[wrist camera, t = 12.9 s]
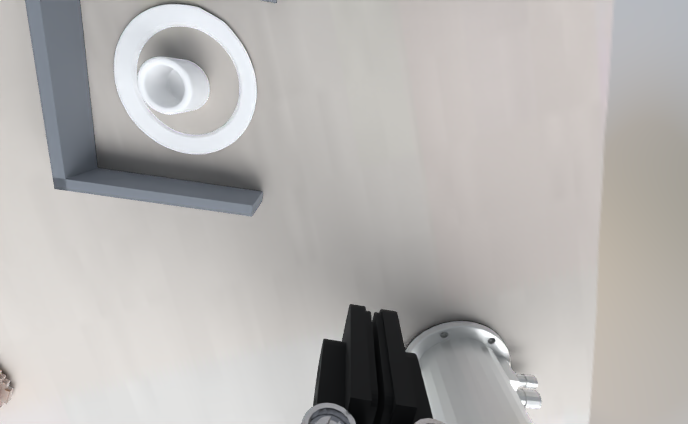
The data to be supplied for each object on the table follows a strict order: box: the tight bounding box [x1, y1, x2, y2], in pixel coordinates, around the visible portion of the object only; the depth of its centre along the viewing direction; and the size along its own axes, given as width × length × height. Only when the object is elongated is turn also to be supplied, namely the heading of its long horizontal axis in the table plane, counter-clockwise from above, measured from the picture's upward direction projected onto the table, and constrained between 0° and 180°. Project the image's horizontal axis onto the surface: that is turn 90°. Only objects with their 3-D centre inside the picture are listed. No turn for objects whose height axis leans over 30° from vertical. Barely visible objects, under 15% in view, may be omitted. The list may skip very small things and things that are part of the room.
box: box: [25, 0, 277, 216], centre depth 28 cm, size 16×18×4 cm
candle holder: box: [114, 4, 257, 154], centre depth 28 cm, size 12×12×4 cm
